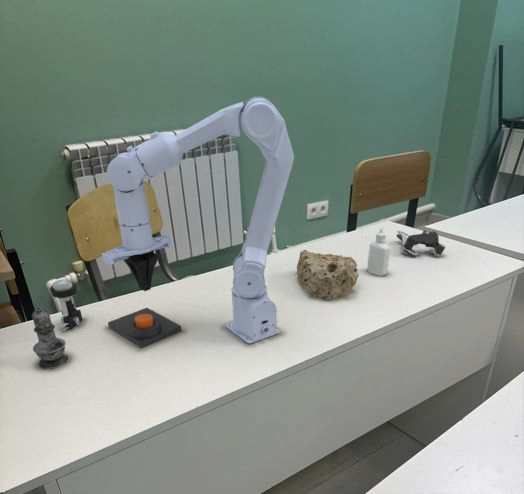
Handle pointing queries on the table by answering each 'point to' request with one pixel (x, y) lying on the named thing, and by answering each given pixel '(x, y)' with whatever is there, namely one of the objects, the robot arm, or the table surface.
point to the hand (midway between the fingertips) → (145, 289)
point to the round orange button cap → (144, 321)
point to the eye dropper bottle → (378, 255)
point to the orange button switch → (144, 335)
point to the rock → (326, 274)
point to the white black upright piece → (66, 303)
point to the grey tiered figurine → (48, 341)
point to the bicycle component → (420, 242)
